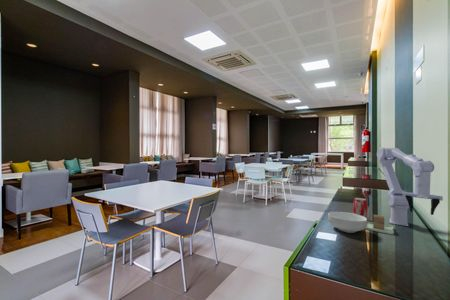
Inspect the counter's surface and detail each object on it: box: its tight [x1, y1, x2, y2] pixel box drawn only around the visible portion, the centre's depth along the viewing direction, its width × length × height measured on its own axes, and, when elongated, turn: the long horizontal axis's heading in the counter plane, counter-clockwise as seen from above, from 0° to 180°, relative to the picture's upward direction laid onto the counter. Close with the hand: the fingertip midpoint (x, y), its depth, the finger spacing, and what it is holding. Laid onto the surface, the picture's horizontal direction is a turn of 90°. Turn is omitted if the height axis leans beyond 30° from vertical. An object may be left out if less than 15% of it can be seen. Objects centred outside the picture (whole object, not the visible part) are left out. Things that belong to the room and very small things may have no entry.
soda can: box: [352, 197, 368, 220], centre depth 127 cm, size 7×7×12 cm
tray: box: [363, 220, 395, 236], centre depth 112 cm, size 12×12×1 cm
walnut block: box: [372, 214, 385, 230], centre depth 112 cm, size 4×4×6 cm
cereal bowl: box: [327, 211, 368, 234], centre depth 109 cm, size 17×17×7 cm
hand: (421, 212), depth 108 cm, fingers open, 7 cm apart
